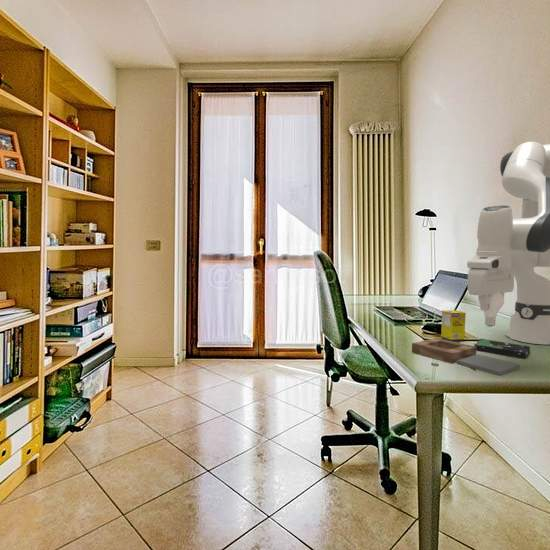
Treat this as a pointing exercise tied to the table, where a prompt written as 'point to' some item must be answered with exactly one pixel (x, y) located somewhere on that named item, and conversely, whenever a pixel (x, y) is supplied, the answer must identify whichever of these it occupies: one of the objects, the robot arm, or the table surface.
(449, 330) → the supplement box
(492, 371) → the mat
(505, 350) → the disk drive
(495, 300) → the lightbulb
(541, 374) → the table surface
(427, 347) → the holder
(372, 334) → the table surface
